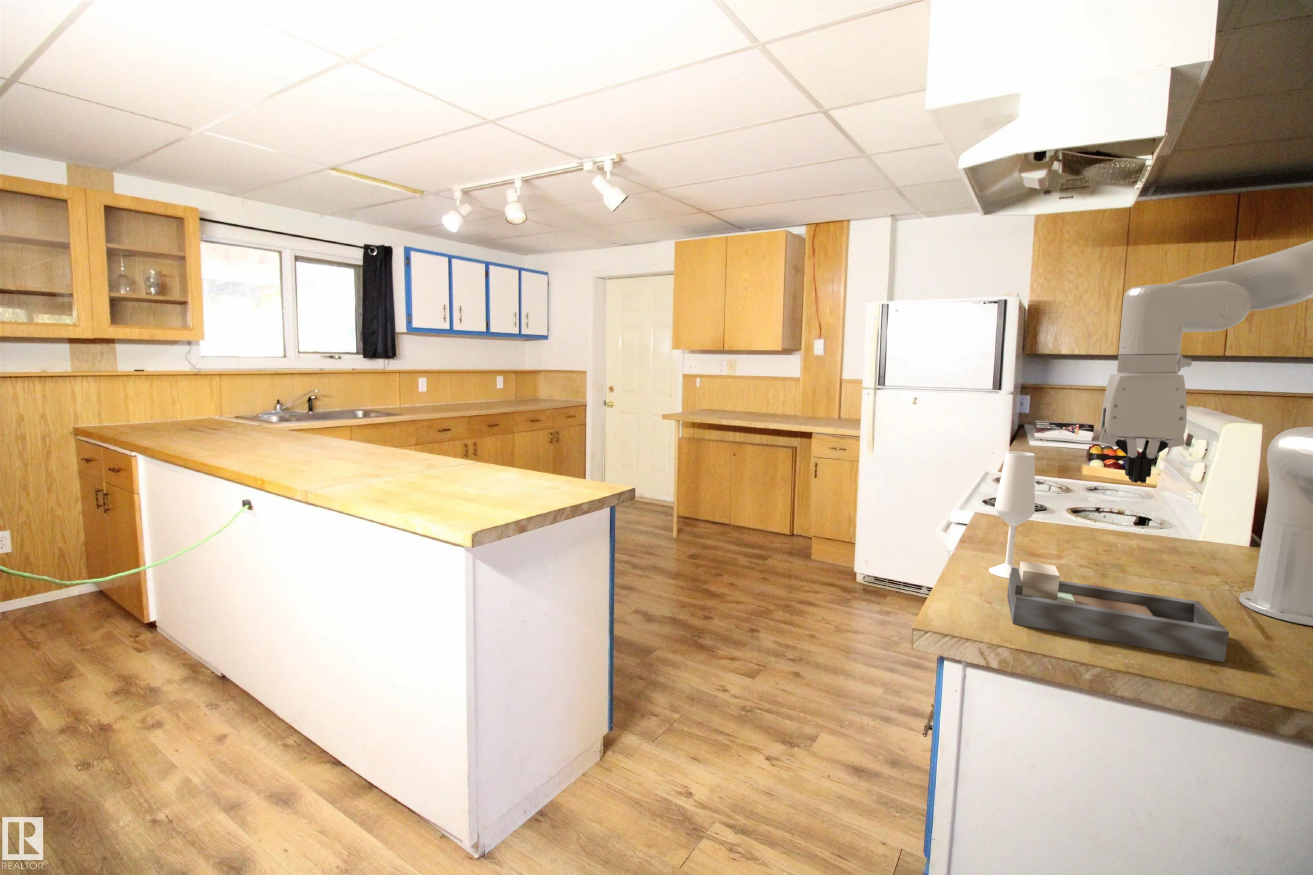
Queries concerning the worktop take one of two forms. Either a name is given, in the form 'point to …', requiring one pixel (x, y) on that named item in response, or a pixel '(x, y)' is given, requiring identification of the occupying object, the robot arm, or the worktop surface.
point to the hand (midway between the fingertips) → (1137, 480)
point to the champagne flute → (1015, 500)
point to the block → (1039, 580)
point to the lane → (1122, 618)
